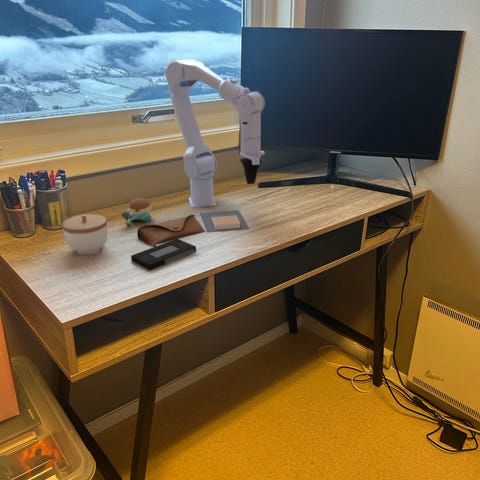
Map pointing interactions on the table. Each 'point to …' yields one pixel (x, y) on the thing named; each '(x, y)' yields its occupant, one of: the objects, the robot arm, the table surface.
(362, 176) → the table surface
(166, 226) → the sunglasses case
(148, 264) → the vhs tape
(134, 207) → the figurine
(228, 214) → the mat
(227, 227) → the tile
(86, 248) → the lidded jar
